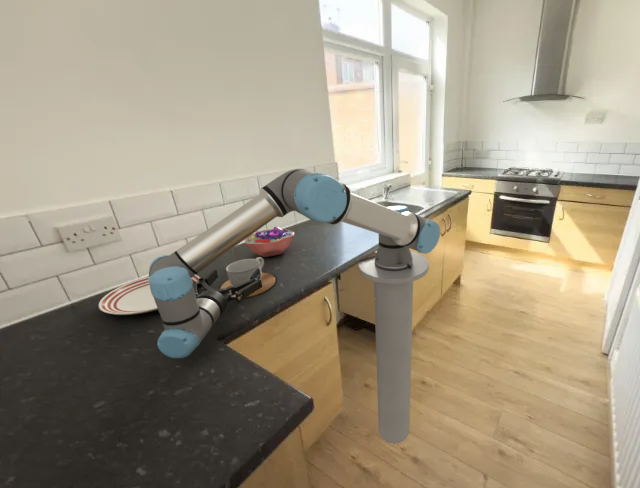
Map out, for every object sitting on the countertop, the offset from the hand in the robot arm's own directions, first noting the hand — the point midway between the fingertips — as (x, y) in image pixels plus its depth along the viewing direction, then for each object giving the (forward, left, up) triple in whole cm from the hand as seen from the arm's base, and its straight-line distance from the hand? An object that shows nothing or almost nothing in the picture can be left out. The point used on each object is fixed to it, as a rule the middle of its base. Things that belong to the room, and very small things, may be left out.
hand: (237, 272), depth 103 cm
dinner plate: (+23, +15, -8) cm, 28 cm away
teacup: (+2, -6, -7) cm, 10 cm away
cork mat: (+3, -5, -8) cm, 10 cm away
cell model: (+16, -29, -8) cm, 34 cm away
